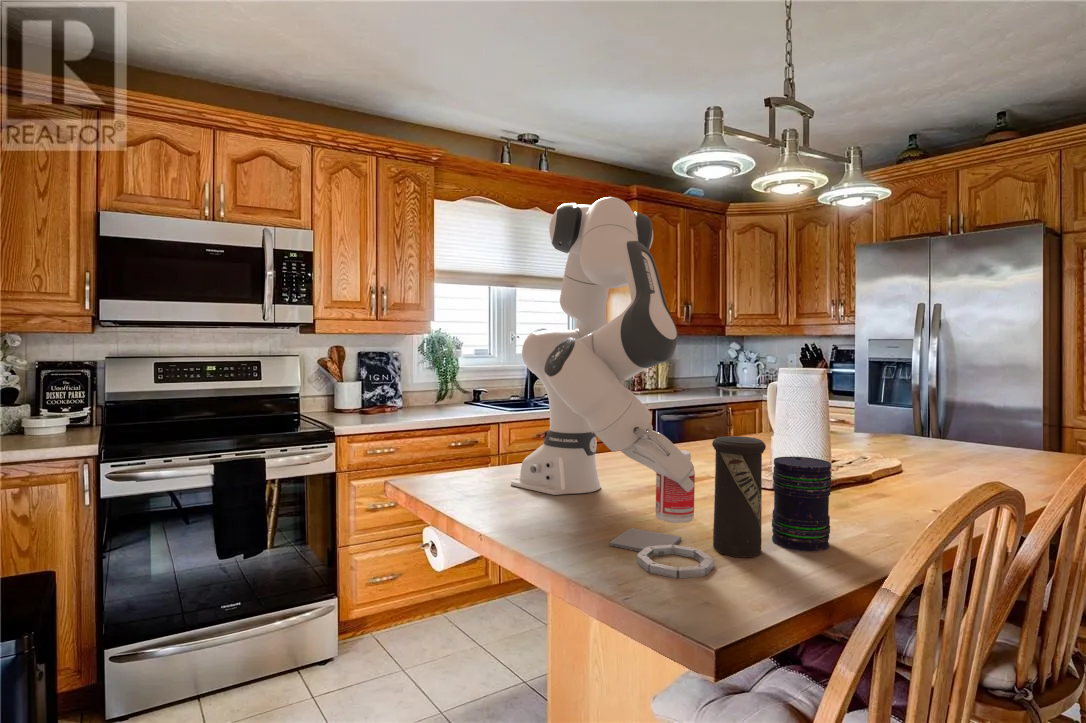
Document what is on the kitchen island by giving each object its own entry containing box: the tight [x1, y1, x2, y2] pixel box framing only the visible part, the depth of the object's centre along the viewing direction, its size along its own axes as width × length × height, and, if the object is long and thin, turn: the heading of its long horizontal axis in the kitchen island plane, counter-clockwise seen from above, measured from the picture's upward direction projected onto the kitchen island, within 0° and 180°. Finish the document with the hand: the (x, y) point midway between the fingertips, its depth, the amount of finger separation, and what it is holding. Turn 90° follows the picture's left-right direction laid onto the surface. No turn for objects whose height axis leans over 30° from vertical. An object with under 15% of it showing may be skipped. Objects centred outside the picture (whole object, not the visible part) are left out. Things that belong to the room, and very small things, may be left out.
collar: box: [636, 544, 715, 579], centre depth 102 cm, size 12×12×1 cm
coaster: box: [608, 527, 682, 557], centre depth 113 cm, size 10×10×1 cm
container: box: [711, 435, 767, 558], centre depth 109 cm, size 9×9×20 cm
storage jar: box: [771, 456, 832, 553], centre depth 113 cm, size 10×10×15 cm
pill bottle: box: [655, 449, 696, 524], centre depth 102 cm, size 6×6×11 cm
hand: (678, 482), depth 102 cm, fingers closed on pill bottle, 6 cm apart
